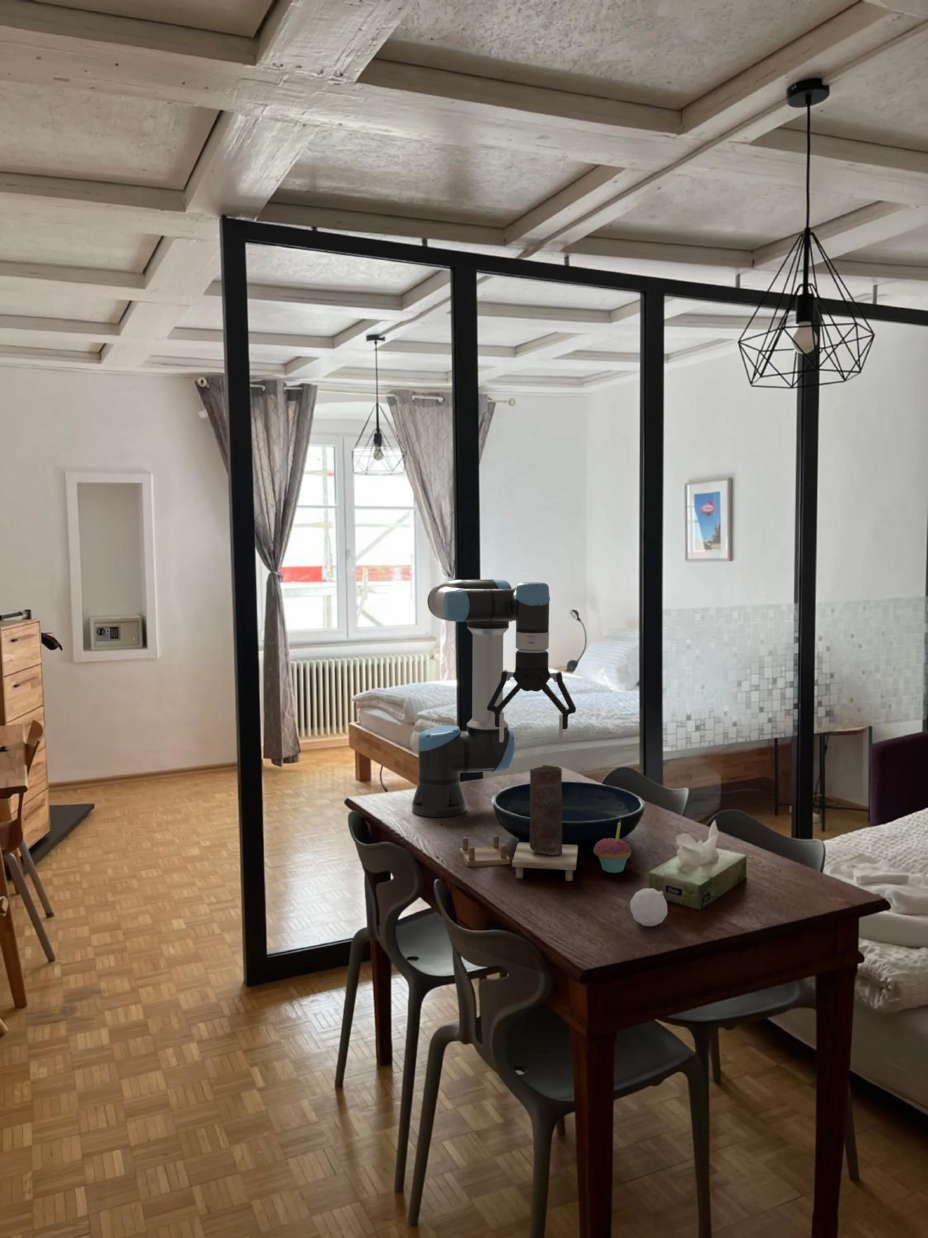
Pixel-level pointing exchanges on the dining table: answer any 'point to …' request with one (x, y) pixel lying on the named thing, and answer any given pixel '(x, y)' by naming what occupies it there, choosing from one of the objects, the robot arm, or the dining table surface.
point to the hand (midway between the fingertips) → (531, 742)
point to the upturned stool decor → (484, 854)
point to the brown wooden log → (546, 810)
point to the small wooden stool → (545, 860)
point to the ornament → (649, 907)
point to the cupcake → (613, 853)
